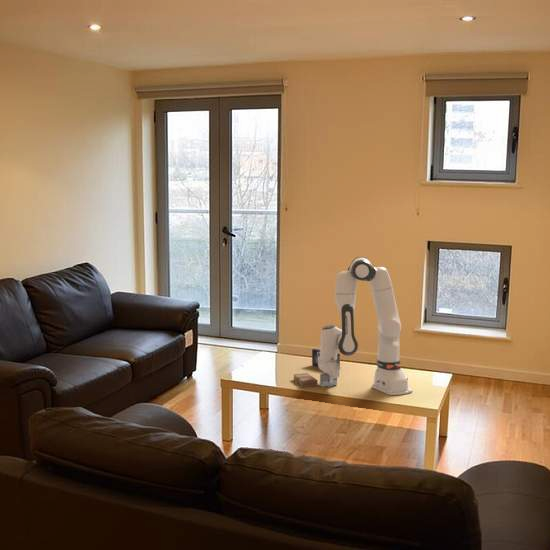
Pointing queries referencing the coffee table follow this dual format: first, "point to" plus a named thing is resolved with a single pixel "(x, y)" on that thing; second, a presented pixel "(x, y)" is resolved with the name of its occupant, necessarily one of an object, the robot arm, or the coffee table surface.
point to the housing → (327, 380)
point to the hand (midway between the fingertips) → (328, 381)
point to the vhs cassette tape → (315, 358)
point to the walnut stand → (305, 380)
